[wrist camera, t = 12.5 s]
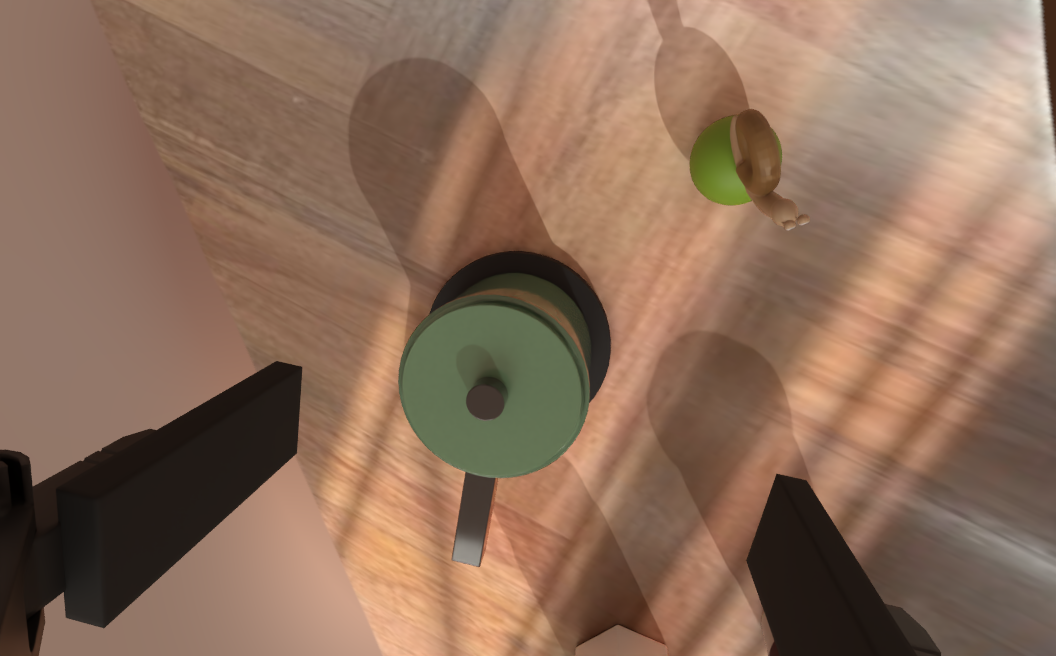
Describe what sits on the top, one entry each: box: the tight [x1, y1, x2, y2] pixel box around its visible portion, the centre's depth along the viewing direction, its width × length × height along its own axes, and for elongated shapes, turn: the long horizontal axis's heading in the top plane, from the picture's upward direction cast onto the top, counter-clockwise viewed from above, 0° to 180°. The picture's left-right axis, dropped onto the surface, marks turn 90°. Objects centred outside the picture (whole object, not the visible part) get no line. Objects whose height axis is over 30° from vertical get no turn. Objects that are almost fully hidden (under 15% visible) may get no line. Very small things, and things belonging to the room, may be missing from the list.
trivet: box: [429, 251, 611, 403], centre depth 43 cm, size 14×14×1 cm
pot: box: [398, 273, 591, 567], centre depth 38 cm, size 12×19×11 cm, turn 170°
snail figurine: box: [690, 109, 810, 230], centre depth 32 cm, size 5×6×12 cm
